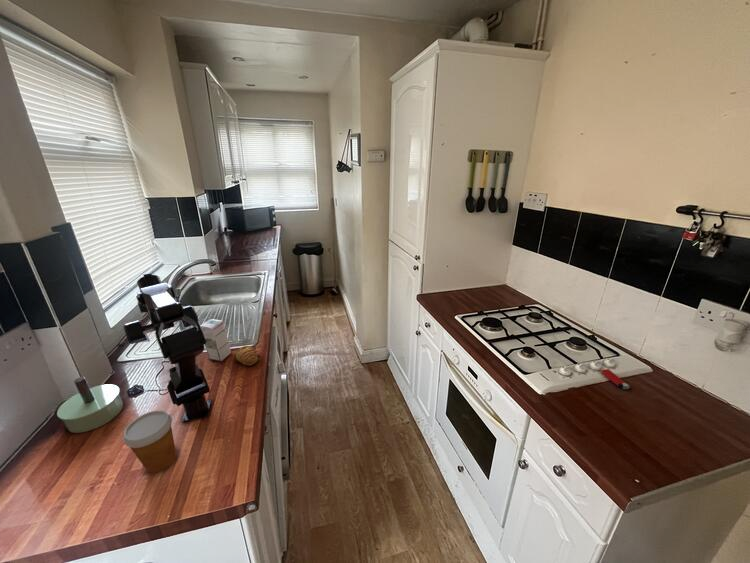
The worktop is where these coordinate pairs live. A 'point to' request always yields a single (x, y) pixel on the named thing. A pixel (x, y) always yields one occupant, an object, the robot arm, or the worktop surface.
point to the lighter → (615, 379)
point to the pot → (95, 418)
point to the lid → (87, 400)
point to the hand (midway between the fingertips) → (165, 334)
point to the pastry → (247, 355)
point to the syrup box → (216, 339)
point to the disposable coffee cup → (152, 440)
